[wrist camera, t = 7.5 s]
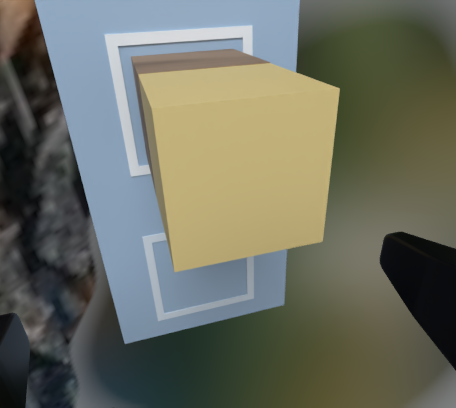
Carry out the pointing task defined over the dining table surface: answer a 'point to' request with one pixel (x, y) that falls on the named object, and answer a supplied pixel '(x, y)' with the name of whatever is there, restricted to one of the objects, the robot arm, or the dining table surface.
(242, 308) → the blueprint sheet
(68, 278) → the dining table surface
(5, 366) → the robot arm
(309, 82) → the ochre block
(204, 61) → the walnut cube
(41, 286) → the dining table surface
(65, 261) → the dining table surface
